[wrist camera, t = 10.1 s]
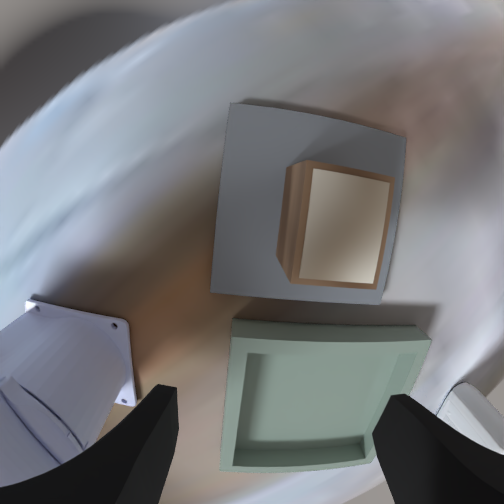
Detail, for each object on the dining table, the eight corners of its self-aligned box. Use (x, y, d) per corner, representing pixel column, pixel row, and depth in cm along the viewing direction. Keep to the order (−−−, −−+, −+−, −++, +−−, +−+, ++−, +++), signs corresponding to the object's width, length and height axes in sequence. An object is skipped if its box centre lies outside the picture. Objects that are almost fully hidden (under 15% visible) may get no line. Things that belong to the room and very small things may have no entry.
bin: (220, 450, 22) (219, 471, 19) (232, 318, 19) (232, 336, 16) (363, 445, 23) (370, 462, 20) (415, 325, 20) (431, 339, 17)
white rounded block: (438, 442, 24) (481, 507, 12) (412, 450, 24) (453, 523, 12) (474, 377, 22) (538, 442, 10) (448, 384, 22) (515, 460, 10)
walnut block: (275, 255, 17) (290, 284, 12) (286, 167, 16) (307, 159, 11) (340, 261, 17) (377, 290, 12) (352, 178, 16) (396, 177, 11)
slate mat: (211, 286, 18) (210, 292, 17) (230, 107, 16) (230, 102, 15) (373, 299, 19) (379, 304, 18) (398, 139, 16) (406, 138, 15)
